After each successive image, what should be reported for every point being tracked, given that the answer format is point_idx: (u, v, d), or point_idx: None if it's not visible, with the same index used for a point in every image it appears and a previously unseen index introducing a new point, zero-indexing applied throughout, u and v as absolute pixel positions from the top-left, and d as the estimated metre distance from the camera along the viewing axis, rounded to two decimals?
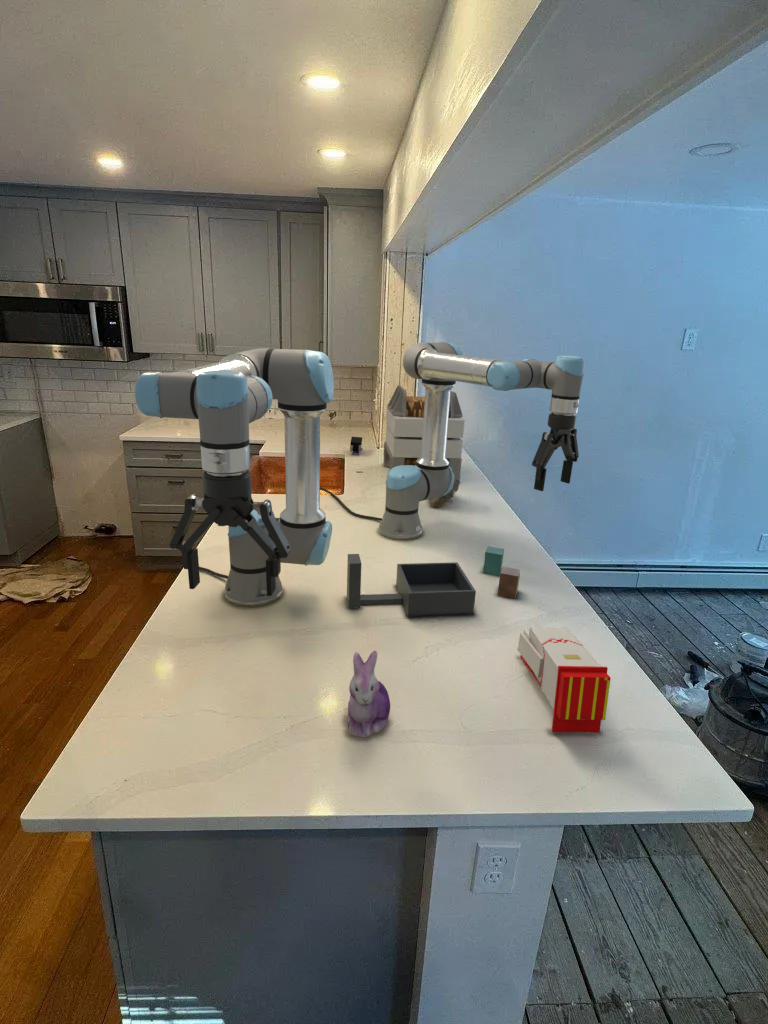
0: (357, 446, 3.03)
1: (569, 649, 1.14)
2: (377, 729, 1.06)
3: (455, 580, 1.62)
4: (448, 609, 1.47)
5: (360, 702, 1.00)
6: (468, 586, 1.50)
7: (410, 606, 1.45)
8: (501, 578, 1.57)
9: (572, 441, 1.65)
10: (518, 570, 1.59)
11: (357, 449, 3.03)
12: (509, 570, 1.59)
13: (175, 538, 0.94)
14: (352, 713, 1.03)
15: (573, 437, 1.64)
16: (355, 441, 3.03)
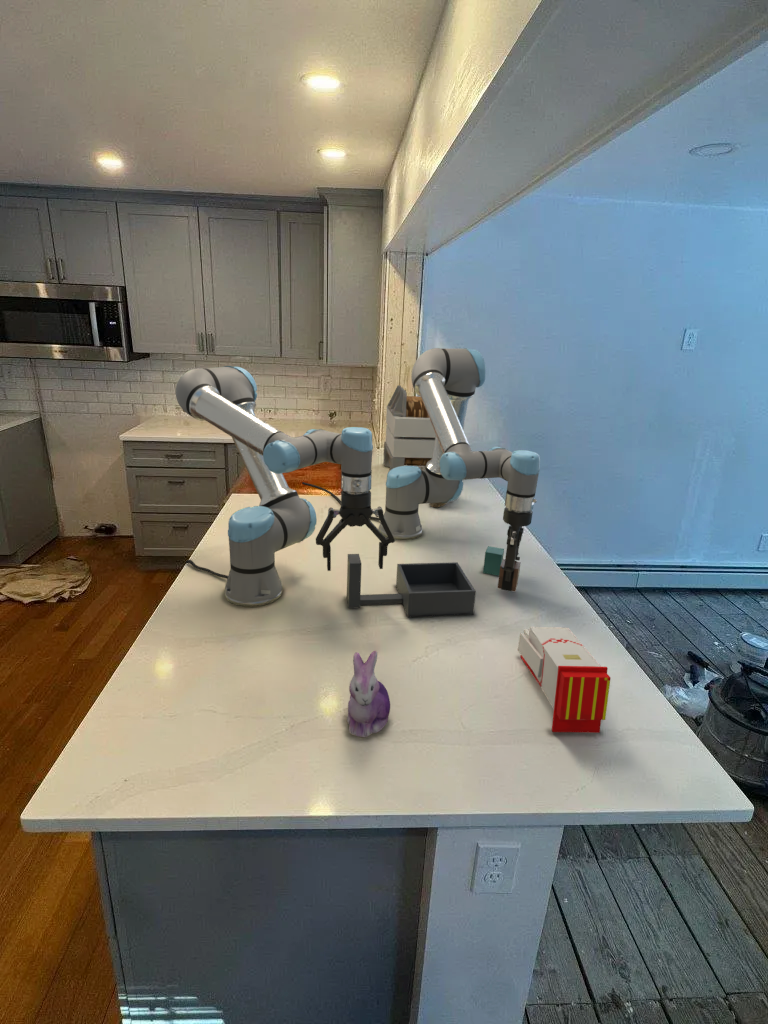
0: None
1: (569, 649, 1.14)
2: (377, 729, 1.06)
3: (455, 580, 1.62)
4: (448, 609, 1.47)
5: (360, 702, 1.00)
6: (468, 586, 1.50)
7: (410, 606, 1.45)
8: (501, 571, 1.57)
9: None
10: (518, 563, 1.59)
11: None
12: None
13: (320, 537, 1.43)
14: (352, 713, 1.03)
15: None
16: None
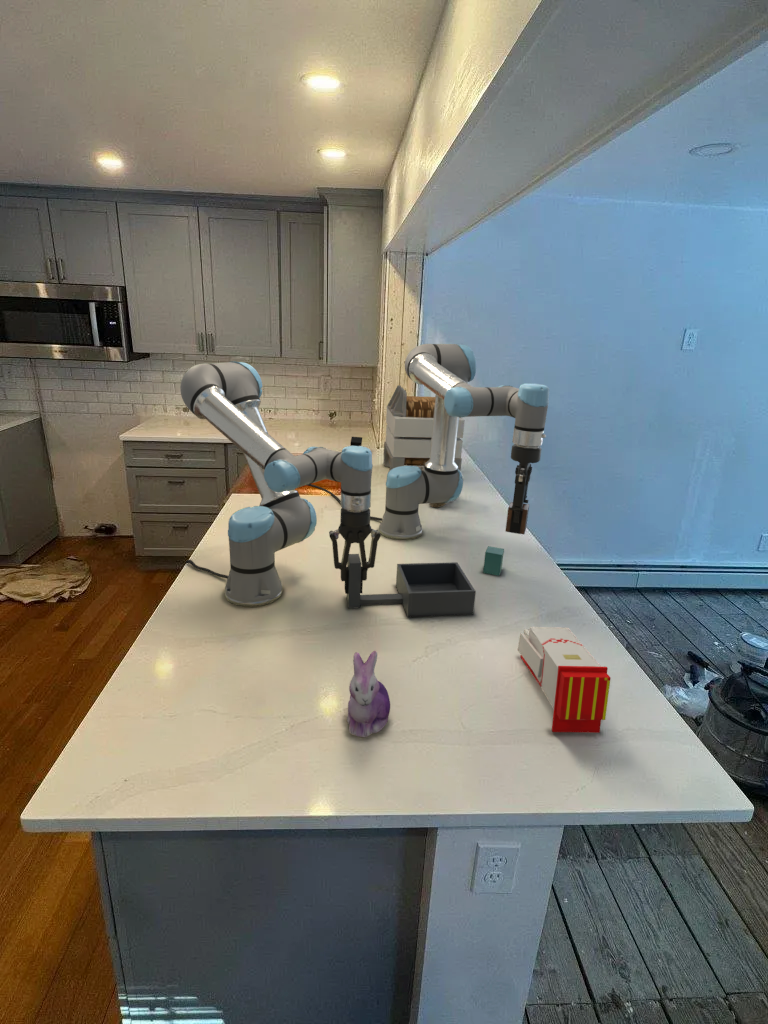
0: None
1: (569, 649, 1.14)
2: (377, 729, 1.06)
3: (455, 580, 1.62)
4: (448, 609, 1.47)
5: (360, 702, 1.00)
6: (468, 586, 1.50)
7: (410, 606, 1.45)
8: (509, 512, 1.51)
9: None
10: (527, 505, 1.53)
11: None
12: None
13: (336, 561, 1.46)
14: (352, 713, 1.03)
15: None
16: (355, 441, 3.03)
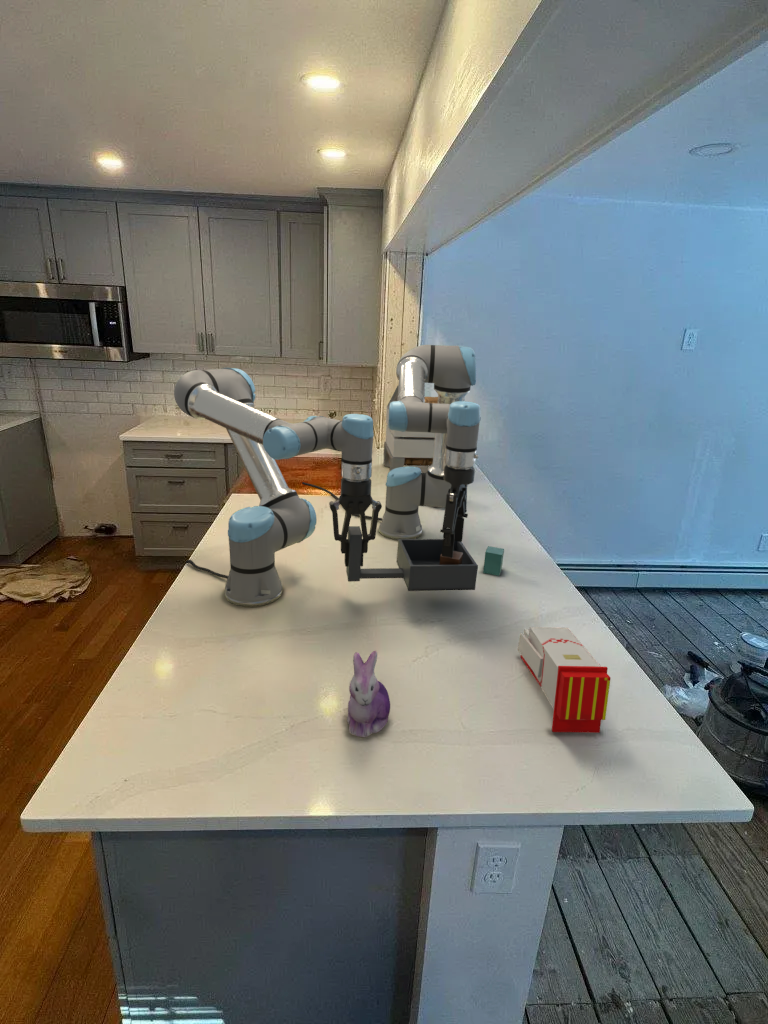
0: None
1: (569, 649, 1.14)
2: (377, 729, 1.06)
3: None
4: (449, 583, 1.45)
5: (360, 702, 1.00)
6: (470, 561, 1.48)
7: (411, 579, 1.42)
8: (441, 561, 1.47)
9: None
10: (460, 553, 1.48)
11: None
12: None
13: (336, 532, 1.43)
14: (352, 713, 1.03)
15: None
16: None
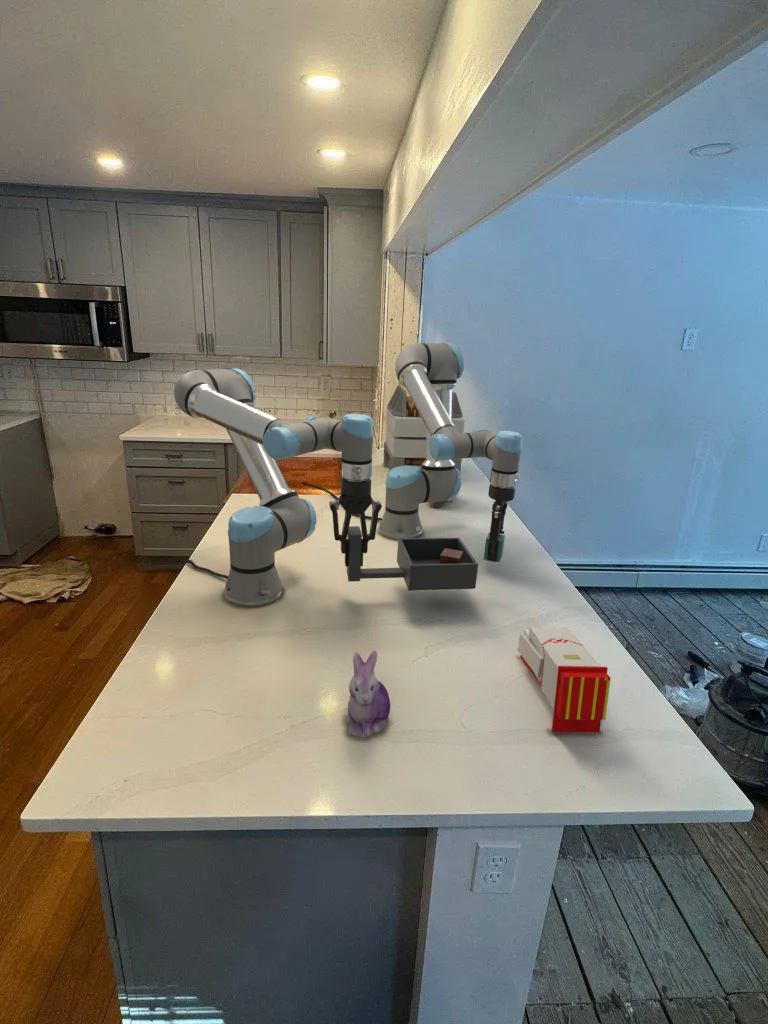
0: None
1: (569, 649, 1.14)
2: (377, 729, 1.06)
3: None
4: (450, 582, 1.44)
5: (360, 702, 1.00)
6: (470, 560, 1.47)
7: (411, 579, 1.42)
8: (441, 560, 1.46)
9: None
10: (460, 552, 1.48)
11: None
12: (450, 552, 1.48)
13: (336, 532, 1.43)
14: (352, 713, 1.03)
15: None
16: None
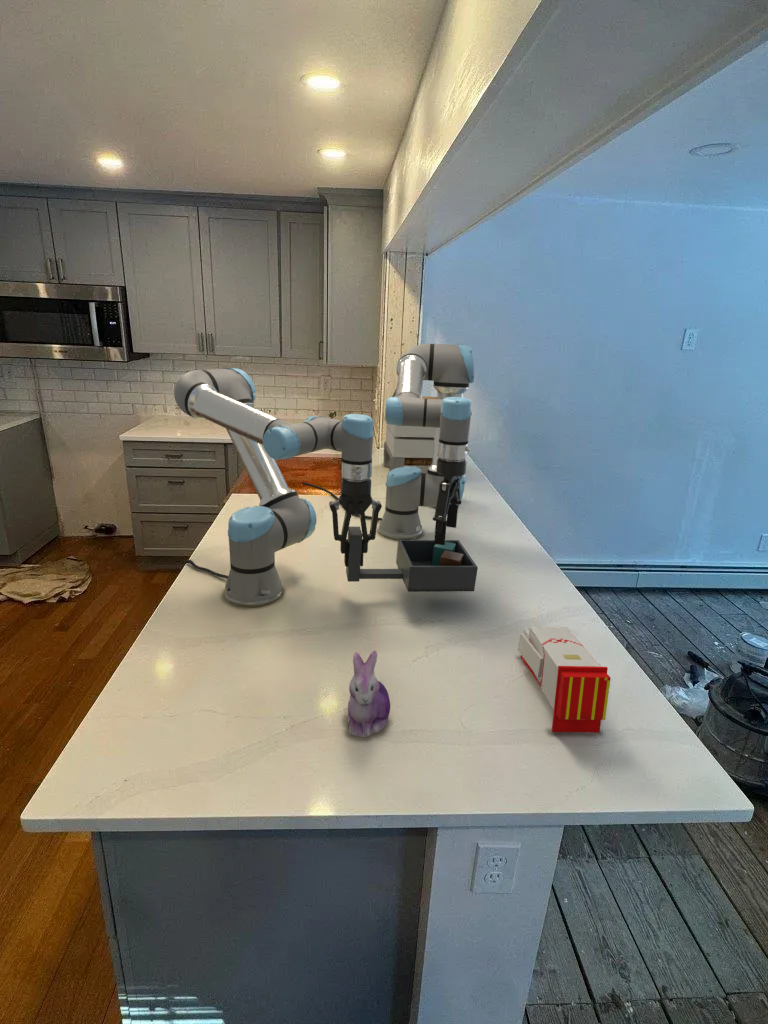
0: None
1: (569, 649, 1.14)
2: (377, 729, 1.06)
3: None
4: (449, 585, 1.45)
5: (360, 702, 1.00)
6: (470, 562, 1.48)
7: (411, 580, 1.43)
8: (441, 562, 1.47)
9: None
10: (460, 555, 1.49)
11: None
12: (451, 555, 1.48)
13: (336, 532, 1.43)
14: (352, 713, 1.03)
15: None
16: None
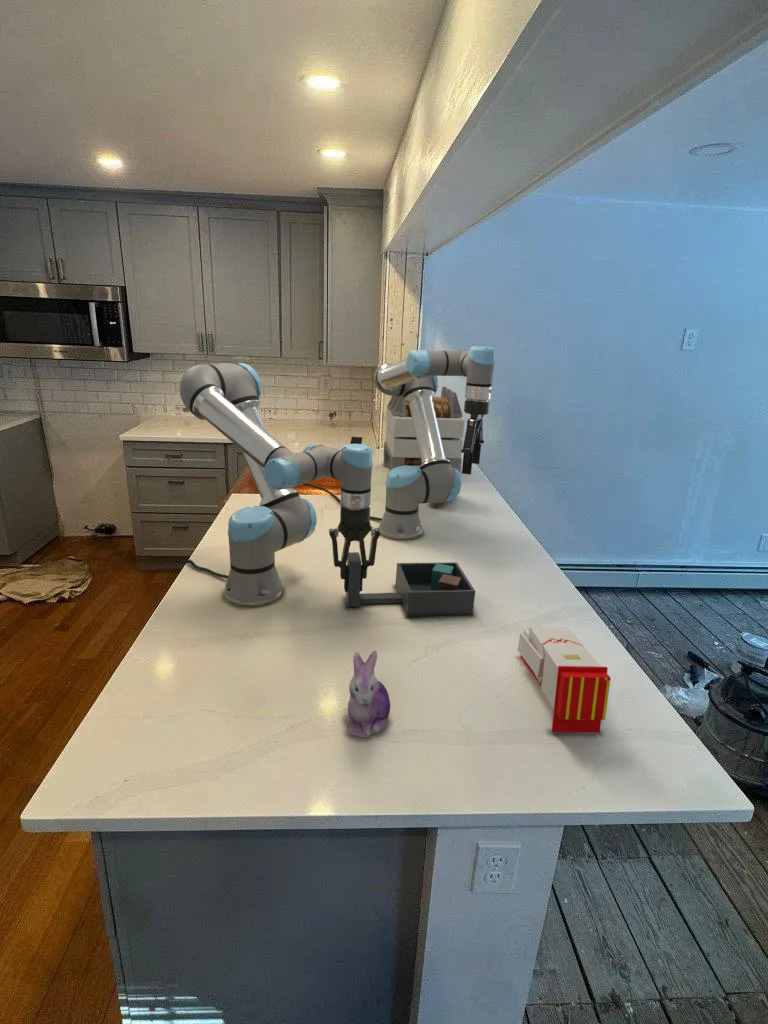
0: None
1: (569, 649, 1.14)
2: (377, 729, 1.06)
3: None
4: (447, 609, 1.47)
5: (360, 702, 1.00)
6: (468, 586, 1.50)
7: (409, 605, 1.45)
8: (440, 587, 1.49)
9: None
10: (458, 578, 1.51)
11: None
12: (449, 579, 1.50)
13: (335, 559, 1.46)
14: (352, 713, 1.03)
15: None
16: (355, 441, 3.03)
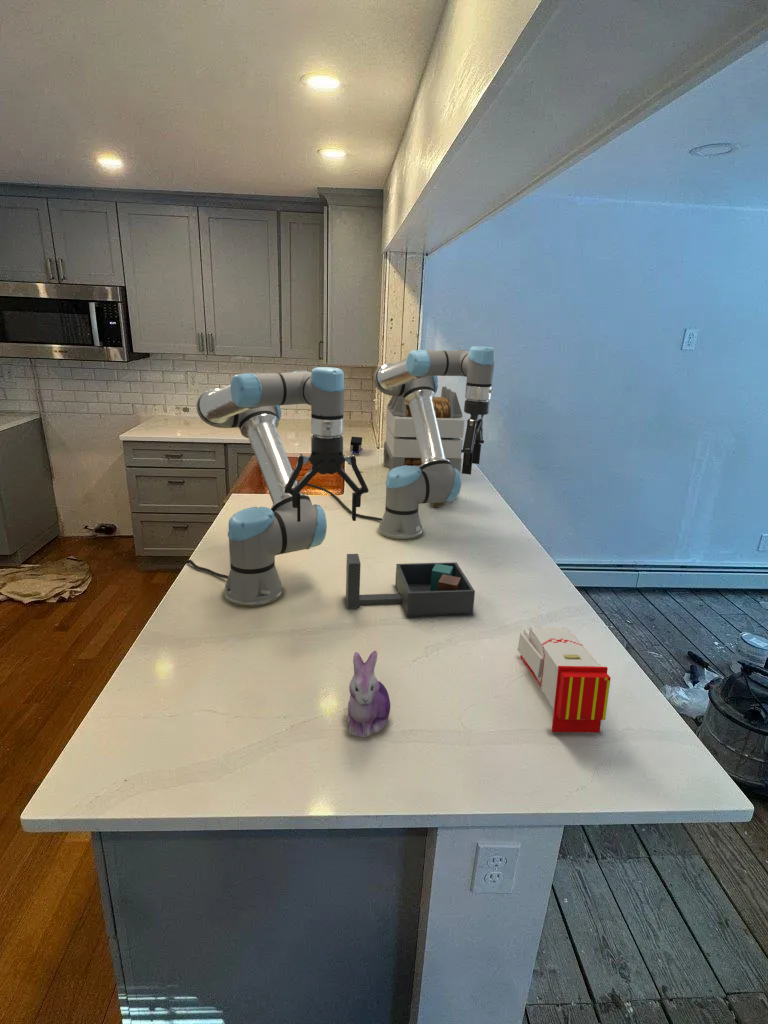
0: (357, 446, 3.03)
1: (569, 649, 1.14)
2: (377, 729, 1.06)
3: None
4: (447, 609, 1.47)
5: (360, 702, 1.00)
6: (467, 586, 1.50)
7: (409, 606, 1.45)
8: (439, 587, 1.49)
9: None
10: (458, 578, 1.51)
11: (357, 449, 3.03)
12: (448, 579, 1.50)
13: (289, 485, 1.35)
14: (352, 713, 1.03)
15: None
16: (355, 441, 3.03)
